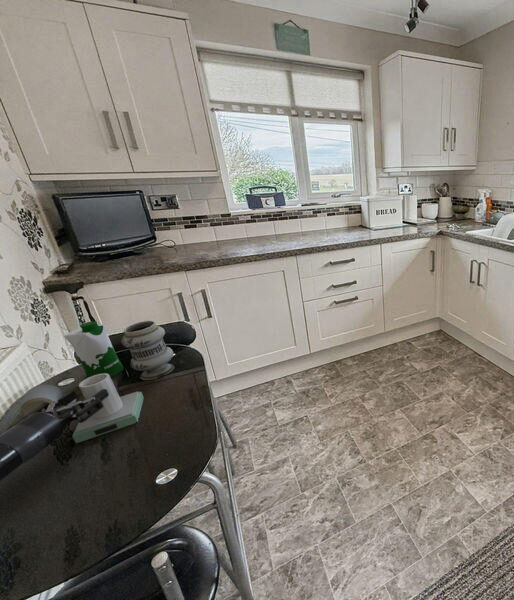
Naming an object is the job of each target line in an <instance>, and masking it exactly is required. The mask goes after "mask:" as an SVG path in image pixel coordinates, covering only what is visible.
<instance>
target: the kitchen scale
mask: <svg viewBox="0 0 514 600" xmlns="http://www.w3.org/2000/svg"><path fill="white" fill-rule="evenodd" d="M119 397H120V399H121V401H122V403H123V406H122V408H121V409H120V410H118V411H117V412H115V413H113V414H111V415H109V416H106V417H102V418H96V417H95V416H94V415H92V416H91V417H90V418H88V419H87V420H86V421H84V422H82V423H79V422H78V424H77V425H76V428H75V429H74V431H73V433H72V436H71V437H72V439H73V441H74V442H75V444H79V443H82V442H85V441H88V440H90V439H94V438H96V437H99V436H103V435H104V434H105V435H106V434H108V433H110V432H111V433H112V432H114V431H117V430H120V429H122V428H125V427H129V426H131V425H134V424H137V423H139V419H140V415H141V411H142V407H143V402H144V399H145V397H144V395H143V392H142V391H135V392H131V393H127V394H125V395H122V396H119ZM138 418H139V419H138ZM136 422H137V423H136Z"/></svg>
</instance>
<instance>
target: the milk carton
mask: <svg viewBox="0 0 514 600" xmlns="http://www.w3.org/2000/svg"><path fill="white" fill-rule="evenodd" d="M63 337H64V339H66V341H67V342H68V343H69V344H70V346H71V347H72V349H73V350H74V352H75V354H76V357H77V358H78V360H79V362H80V364H81V366H82V368H83V372H84V373H85V376H86V379H87V378H89V377H92V376H94V375H98V374H103V373H106V374H109V376H110V378H111V379H112V378H114V377H115V376H116V375H118V374H119V373H121V372H123V371H124V370H125V367H124V365H123V364H122V362H121V360H120V359H119V357H118V355H117V352H116V350H115V348H114V345H113V343H112V341H111V340H110V337H109V333H108V329H107V324H106V323H102V324H98V322H97V321H96V320H91V321H87V322H84V323H82V324H81V325H80V327H79V328H76V329H75V330H71V331H70V332H67V333H66V334H64V335H63Z"/></svg>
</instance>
